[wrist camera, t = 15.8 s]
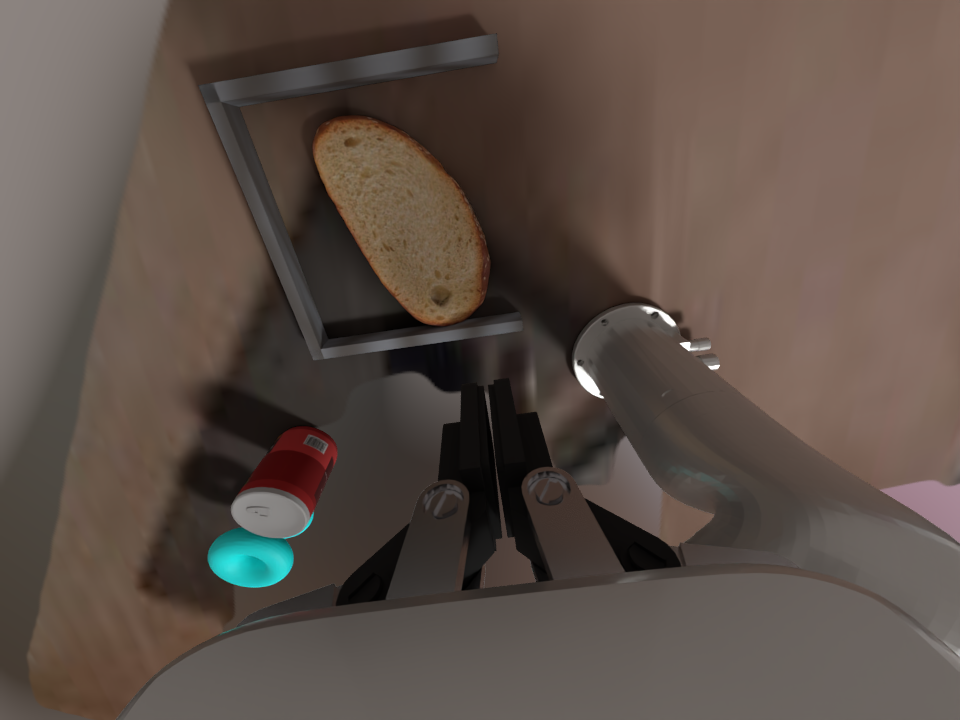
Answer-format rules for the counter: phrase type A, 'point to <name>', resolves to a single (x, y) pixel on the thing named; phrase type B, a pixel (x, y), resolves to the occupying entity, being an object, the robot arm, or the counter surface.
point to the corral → (258, 194)
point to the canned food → (286, 484)
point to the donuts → (251, 558)
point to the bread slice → (405, 217)
